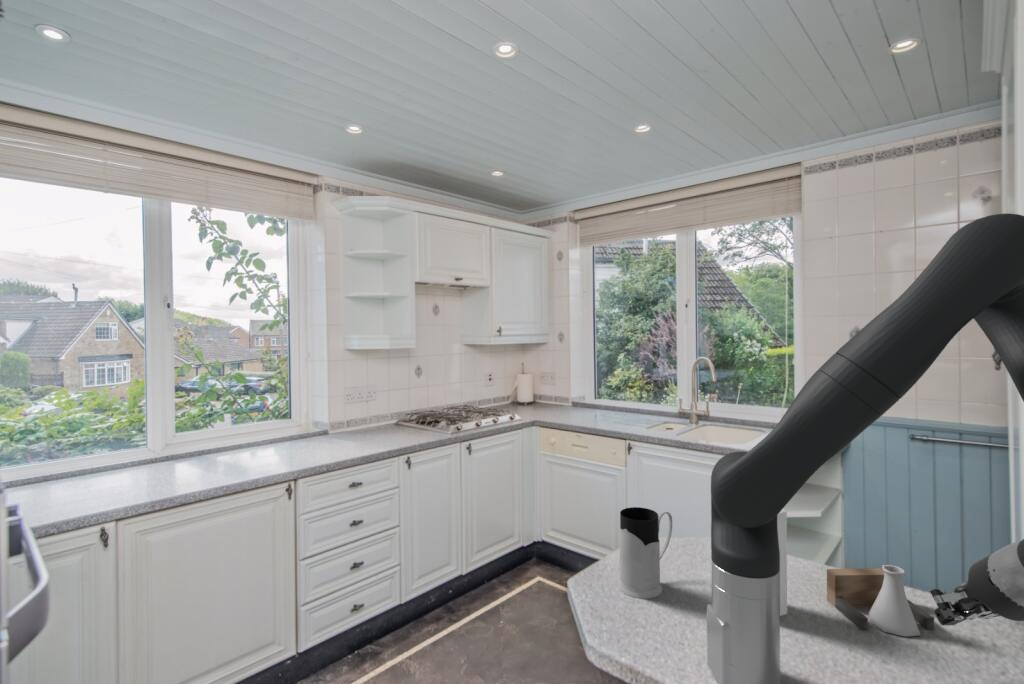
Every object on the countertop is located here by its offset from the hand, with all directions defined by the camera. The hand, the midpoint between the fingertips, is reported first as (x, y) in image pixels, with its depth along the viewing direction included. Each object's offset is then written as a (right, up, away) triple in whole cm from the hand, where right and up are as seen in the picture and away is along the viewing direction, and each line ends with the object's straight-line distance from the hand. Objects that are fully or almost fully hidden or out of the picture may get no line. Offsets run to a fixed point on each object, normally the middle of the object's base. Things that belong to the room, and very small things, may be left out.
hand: (942, 618), depth 76 cm
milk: (-19, -8, +16) cm, 27 cm away
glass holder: (-37, -8, +27) cm, 47 cm away
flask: (+1, -8, +11) cm, 13 cm away
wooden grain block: (+1, -7, +14) cm, 16 cm away
